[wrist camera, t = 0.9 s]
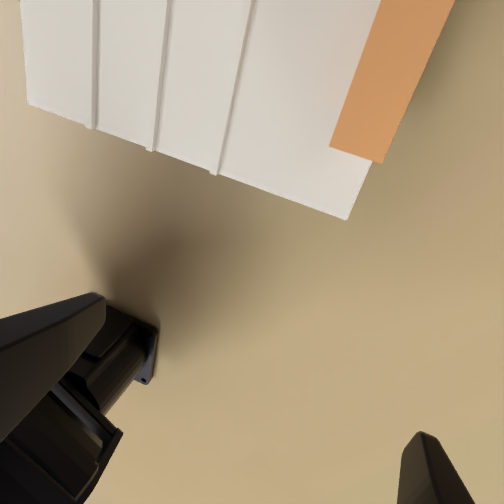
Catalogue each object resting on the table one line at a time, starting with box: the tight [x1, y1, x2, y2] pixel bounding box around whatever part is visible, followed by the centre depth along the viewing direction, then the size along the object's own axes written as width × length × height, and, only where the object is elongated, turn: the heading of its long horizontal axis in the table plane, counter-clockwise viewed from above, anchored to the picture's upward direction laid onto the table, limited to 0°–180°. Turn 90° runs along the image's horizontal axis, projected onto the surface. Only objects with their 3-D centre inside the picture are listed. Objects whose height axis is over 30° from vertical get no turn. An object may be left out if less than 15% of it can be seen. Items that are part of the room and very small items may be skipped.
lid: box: [20, 0, 455, 221], centre depth 11 cm, size 11×15×5 cm
